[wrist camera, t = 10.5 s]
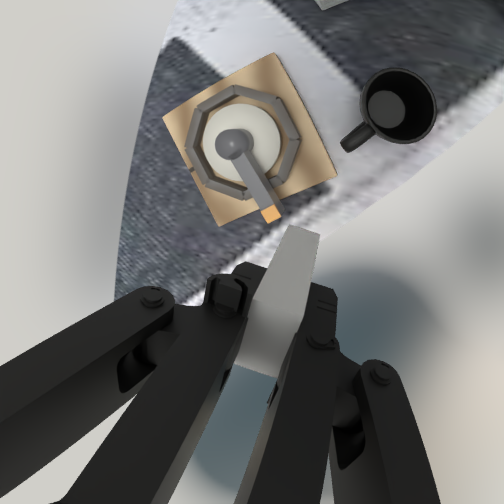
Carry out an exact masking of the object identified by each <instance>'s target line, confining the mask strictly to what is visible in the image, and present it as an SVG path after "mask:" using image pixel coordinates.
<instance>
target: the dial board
mask: <svg viewBox="0 0 504 504" xmlns="http://www.w3.org/2000/svg"><path fill="white" fill-rule="evenodd" d="M233 104H249V105H254V106H257V107H259V108H262V109H263V110H265V111H266V112H268V113H269V114H270V115H271V116H272V117H273V118H274V120H275V121H276V123H277V124H278V126H279V129H280V132H281V136H282V147H281V152H280V155H279V158H278V160H277V161H276V163H275V164H274V166H273V167H272V168H271V169H270V170H269V171H267V172H266V173H265V176H266V178H267V179H268V181H269V183H270V184H271V186H272V188H273V189H274V191H275V193H276V195H277V196H278V198H279V200H281V199H283V198H285V197H288V196H290V195H292V194H295V193H297V192H299V191H302V190H304V189H307V188H309V187H311V186H314V185H316V184H319V183H321V182H323V181H326V180H328V179H331V178H333V177H336V176H337V173H336V170H335V168H334V166H333V164H332V161H331V159H330V157H329V155H328V153H327V151H326V148H325V146H324V144H323V142H322V140H321V138H320V136H319V134H318V132H317V130H316V128H315V126H314V124H313V122H312V120H311V118H310V116H309V114H308V112H307V110H306V108H305V106H304V104H303V102H302V100H301V98H300V96H299V95H298V93H297V91H296V89H295V87H294V85H293V83H292V82H291V80H290V78H289V76H288V74H287V73H286V71H285V69H284V67H283V65H282V64H281V62H280V60H279V59H278V57H277V55H276V54H275V53H274V52H273V53H271V54H269V55H267V56H265V57H263V58H261V59H259V60H257V61H255V62H253V63H251V64H250V65H248V66H246V67H244V68H242V69H240V70H238V71H237V72H235V73H233V74H231V75H229V76H228V77H226V78H224V79H222V80H221V81H219V82H217V83H215V84H214V85H212V86H210V87H209V88H207V89H205V90H204V91H202V92H200V93H199V94H197V95H196V96H194V97H192V98H191V99H189V100H188V101H186V102H185V103H183V104H181V105H180V106H178V107H177V108H175V109H174V110H172V111H171V112H169V113H168V114H166V115H165V116H164V117H162V118H163V120H164V122H165V124H166V126H167V128H168V130H169V132H170V134H171V136H172V138H173V139H174V141H175V143H176V145H177V147H178V149H179V151H180V153H181V155H182V157H183V159H184V161H185V163H186V165H187V167H188V169H189V171H190V173H191V174H192V176H193V178H194V180H195V182H196V184H197V186H198V188H199V190H200V192H201V194H202V196H203V198H204V199H205V201H206V203H207V205H208V207H209V209H210V211H211V213H212V215H213V217H214V219H215V220H216V222H217V224H218V226H221V225H224V224H226V223H228V222H230V221H233V220H235V219H237V218H239V217H242V216H244V215H246V214H248V213H251V212H253V211H255V210H258V209H260V208H259V206H258V205H257V203H256V201H255V200H254V198H253V197H252V195H251V193H250V192H249V190H248V188H247V187H246V185H245V183H244V182H243V181H235V180H231V179H228V178H225V177H223V176H222V175H220V174H219V173H217V172H216V171H215V170H214V169H213V168H212V167H211V165H210V164H209V162H208V160H207V158H206V156H205V153H204V149H203V135H204V131H205V128H206V125H207V123H208V122H209V120H210V119H211V117H212V116H213V115H214V114H215V113H216V112H218V111H219V110H221V109H222V108H224V107H226V106H229V105H233Z"/></svg>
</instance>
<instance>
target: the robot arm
mask: <svg viewBox="0 0 504 504" xmlns="http://www.w3.org/2000/svg"><path fill="white" fill-rule="evenodd" d="M319 238H320V234H317V233H314V232H311V231H308V230H305V229H302V228H299V227H296V226H293V225H290V224H289V226H288V228H287V230H286V232H285V234H284V236H283V238H282V240H281V242H280V244H279V246H278V248H277V250H276V252H275V254H274V256H273V258H272V260H271V262H270V265H269V267H268V269H267V268H264V267H261V266H258V265H255V264H252V263H249V262H243V263H241V264H239V265H237V266H236V267H235V269H234V270H233V272H232V273H231V274H216V275H212V276H211V277H209V278H208V279H207V284H206V290H205V296H204V302H203V303H202V305H201V306H186V305H179V304H175V299H174V297H173V295H172V294H171V293H170V292H169V291H168V290H165V289H163V288H161V287H155V286H145V287H141V288H138V289H136V290H134V291H132V292H131V293H129V294H127V295H125V296H123V297H121V298H120V299H118V300H116V301H114V302H112V303H111V304H109V305H107V306H105V307H103V308H102V309H100V310H98V311H96V312H94V313H93V314H91V315H89V316H87V317H86V318H84V319H82V320H80V321H78V322H77V323H75V324H73V325H71V326H69V327H68V328H66V329H64V330H62V331H61V332H59V333H57V334H55V335H53V336H52V337H50V338H48V339H46V340H45V341H43V342H41V343H39V344H38V345H36V346H35V347H33V348H31V349H29V350H27V351H26V352H24V353H22V354H21V355H19V356H17V357H15V358H14V359H12V360H10V361H8V362H7V363H5V364H3V365H2V366H0V498H1V497H3V496H4V495H6V494H7V493H8V492H10V491H11V490H13V489H14V488H16V487H17V486H18V485H20V484H21V483H22V482H24V481H25V480H27V479H28V478H29V477H31V476H32V475H33V474H35V473H36V472H37V471H39V470H40V469H41V468H43V467H44V466H45V465H47V464H48V463H49V462H51V461H52V460H53V459H55V458H56V457H57V456H59V455H60V454H61V453H63V452H64V451H65V450H66V449H68V448H69V447H71V446H72V445H73V444H74V443H76V442H77V441H78V440H80V439H81V438H82V437H83V436H85V435H86V434H87V433H88V432H90V431H91V430H92V429H94V428H95V427H96V426H97V425H99V424H100V423H101V422H102V421H104V420H105V419H106V418H108V417H109V416H110V415H111V414H113V413H114V412H115V411H116V410H118V409H119V408H120V407H121V406H123V405H124V404H125V403H126V402H127V401H129V400H130V399H131V398H133V397H134V396H135V395H136V394H137V395H136V396H135V398H134V399H133V400H132V402H131V403H130V405H129V406H128V407H127V409H126V411H125V412H124V413H123V414H122V416H121V417H120V419H119V420H118V421H117V423H116V424H115V426H114V427H113V429H112V430H111V431H110V433H109V434H108V436H107V437H106V438H105V440H104V441H103V443H102V444H101V446H100V447H99V449H98V450H97V451H96V453H95V454H94V456H93V457H92V458H91V460H90V461H89V463H88V464H87V465H86V467H85V468H84V470H83V471H82V473H81V474H80V476H79V477H78V478H77V480H76V481H75V483H74V484H73V486H72V487H71V488H70V490H69V491H68V493H67V494H66V495H65V496H64V497H63V498H62V499H61V500H60V501H57V502H54V503H50V504H168V502H169V500H170V498H171V496H172V494H173V492H174V490H175V488H176V486H177V484H178V482H179V480H180V478H181V476H182V474H183V472H184V470H185V468H186V466H187V464H188V462H189V460H190V458H191V456H192V454H193V452H194V450H195V448H196V446H197V444H198V441H199V439H200V437H201V435H202V433H203V431H204V429H205V427H206V425H207V423H208V421H209V418H210V416H211V414H212V412H213V410H214V408H215V406H216V404H217V402H218V399H219V397H220V395H221V393H222V391H223V389H224V386H225V384H226V382H227V380H228V378H229V375H230V372H231V369H232V365H233V363H234V364H237V365H239V366H242V367H245V368H248V369H251V370H254V371H256V372H260V373H262V374H265V375H268V376H272V377H275V378H278V379H277V382H276V384H275V386H274V388H273V390H272V393H271V395H270V397H269V399H268V401H267V403H268V407H267V410H266V413H265V416H264V419H263V422H262V425H261V428H260V431H259V434H258V437H257V440H256V443H255V446H254V449H253V452H252V455H251V458H250V461H249V463H248V467H247V469H246V472H245V475H244V478H243V480H242V483H241V486H240V488H239V491H238V494H237V497H236V499H235V502H234V504H320V499H321V494H322V489H323V483H324V478H325V471H326V465H327V459H328V453H329V460H330V469H331V476H332V485H333V494H334V504H441V503H440V499H439V495H438V492H437V488H436V484H435V481H434V477H433V474H432V470H431V467H430V463H429V460H428V457H427V454H426V450H425V447H424V444H423V441H422V438H421V435H420V432H419V429H418V426H417V423H416V420H415V417H414V414H413V412H412V409H411V406H410V403H409V400H408V398H407V395H406V392H405V389H404V387H403V384H402V382H401V379H400V376H399V375H398V373H397V371H396V370H395V369H394V368H393V367H392V366H390V365H389V364H387V363H385V362H383V361H380V360H376V359H374V360H367V361H366V362H364V363H363V364H362V366H361V365H359V364H357V363H355V362H354V361H352V360H350V359H349V358H347V357H346V356H344V355H343V354H342V353H341V352H340V347H339V342H338V340H337V339H336V338H335V331H336V317H337V314H336V313H337V300H338V298H337V296H336V294H335V292H334V290H333V289H331V288H328V287H325V286H322V285H318V284H315V283H312V282H311V279H312V274H313V268H314V264H315V259H316V254H317V248H318V243H319ZM234 361H235V362H234ZM278 375H279V376H278Z"/></svg>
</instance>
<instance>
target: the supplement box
mask: <svg viewBox="0 0 504 504" xmlns="http://www.w3.org/2000/svg"><path fill="white" fill-rule="evenodd" d="M345 1H348V0H315V2H316V3H317V4H318V6H319V7H320V8H321V10H325V9H328V8H330V7H333V6H335V5H338V4H340V3H343V2H345Z"/></svg>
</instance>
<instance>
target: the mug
mask: <svg viewBox="0 0 504 504" xmlns="http://www.w3.org/2000/svg"><path fill="white" fill-rule="evenodd" d="M360 110H361V114H362V117H363V120H364V121H363V122H362V123H361V124H360V125H358V126H357V127H356V128H355V129H354V130H352V131H351V132H350V133H349V134H348V135H347V136H346V137H344V138H343V139H342V140H341V142H340V144H341V146H342V147H343V149H344V150H345V151H346V152H347V153H349V152H352V151H353V150H355V149H356V148H358V147H359V146H361V145H362V144H363V143H365V142H366V141H367V140H368V139H370V138H371V137H372V136H374V135H375V134H376V135H377V136H379V137H380V138H383V139H385V140H387V141H390V142H393V143H398V144H410V143H414V142H417V141H419V140H421V139H423V138H424V137H425V136H426V135H427V134H429V132H430V131H431V129H432V128H433V126H434V123H435V121H436V115H437V106H436V100H435V97H434V94H433V92H432V90H431V89H430V87H429V85H428V84H427V83H426V82H425V81H424V80H423V79H422V78H421V77H420V76H418V75H417V74H416V73H414V72H411V71H409V70H407V69H403V68H387V69H383V70H381V71H379V72H377V73H375V74H374V75H373V76H372V77H371V78H370V79H369V80H368V81H367V83H366V85H365V86H364V88H363V90H362V93H361V95H360Z"/></svg>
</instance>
